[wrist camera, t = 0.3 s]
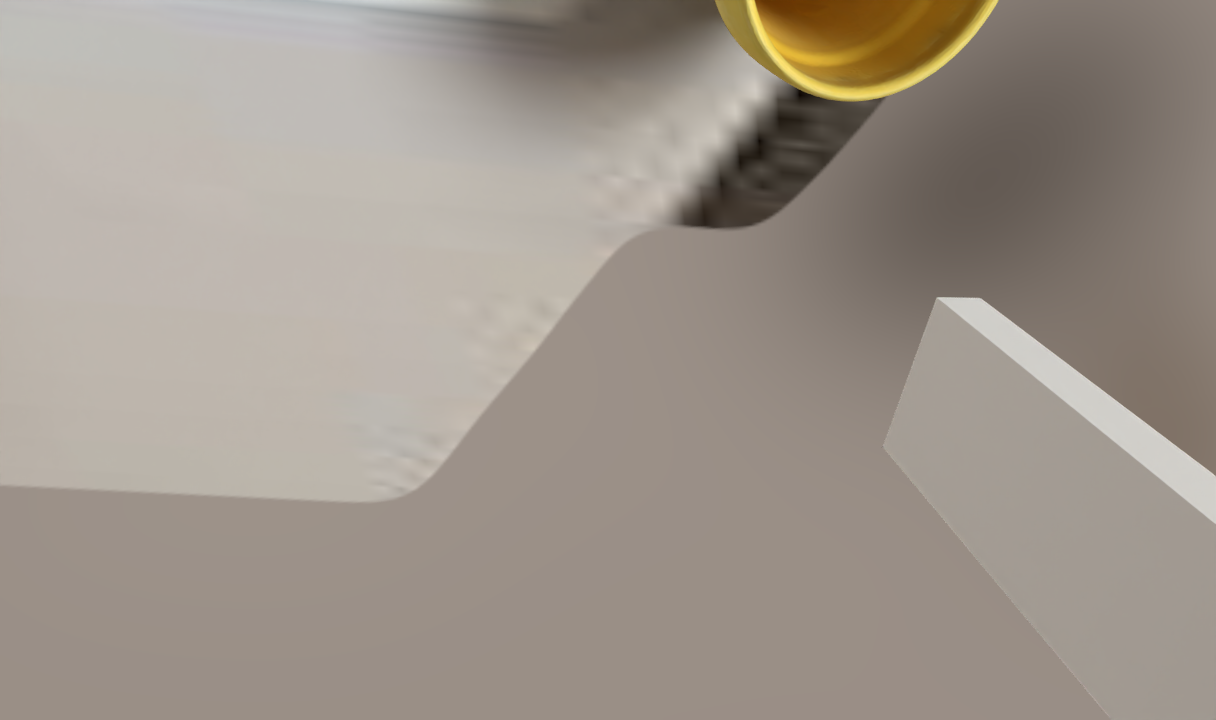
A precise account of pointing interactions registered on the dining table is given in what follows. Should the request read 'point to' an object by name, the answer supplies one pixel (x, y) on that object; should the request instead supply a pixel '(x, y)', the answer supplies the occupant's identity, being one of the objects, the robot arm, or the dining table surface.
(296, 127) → the dining table surface
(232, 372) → the dining table surface
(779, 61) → the plant pot
